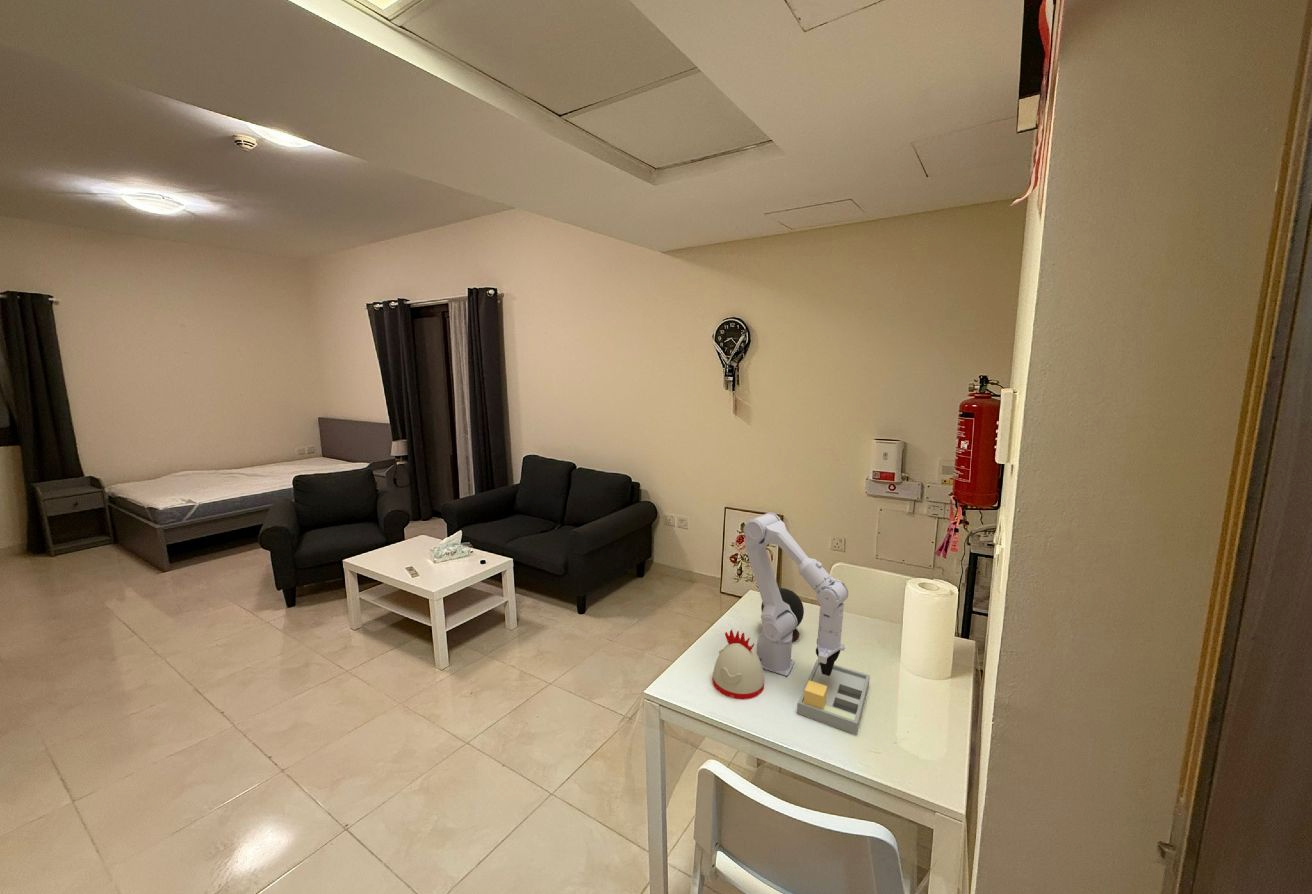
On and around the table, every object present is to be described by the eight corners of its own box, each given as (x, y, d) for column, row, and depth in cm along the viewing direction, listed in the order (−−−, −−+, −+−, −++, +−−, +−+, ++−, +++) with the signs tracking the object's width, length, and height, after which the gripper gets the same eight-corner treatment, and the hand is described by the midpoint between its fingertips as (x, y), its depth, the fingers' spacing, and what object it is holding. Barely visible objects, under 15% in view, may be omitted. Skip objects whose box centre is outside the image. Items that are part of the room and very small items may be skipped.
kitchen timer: (724, 661, 145) (726, 613, 142) (770, 676, 138) (773, 627, 135) (704, 688, 133) (705, 636, 130) (753, 706, 126) (756, 653, 123)
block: (803, 706, 123) (804, 690, 123) (807, 695, 127) (809, 680, 126) (822, 712, 121) (823, 696, 120) (826, 702, 125) (827, 686, 124)
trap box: (796, 713, 124) (797, 702, 123) (816, 668, 141) (816, 659, 141) (856, 735, 117) (857, 723, 116) (868, 685, 135) (869, 675, 134)
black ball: (752, 626, 164) (754, 583, 161) (787, 620, 168) (790, 578, 165) (773, 648, 151) (776, 602, 149) (810, 641, 155) (813, 596, 153)
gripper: (840, 645, 122) (836, 694, 124) (851, 618, 134) (847, 664, 136) (811, 636, 125) (807, 684, 128) (824, 611, 137) (821, 656, 140)
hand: (826, 673), depth 132 cm, fingers closed
